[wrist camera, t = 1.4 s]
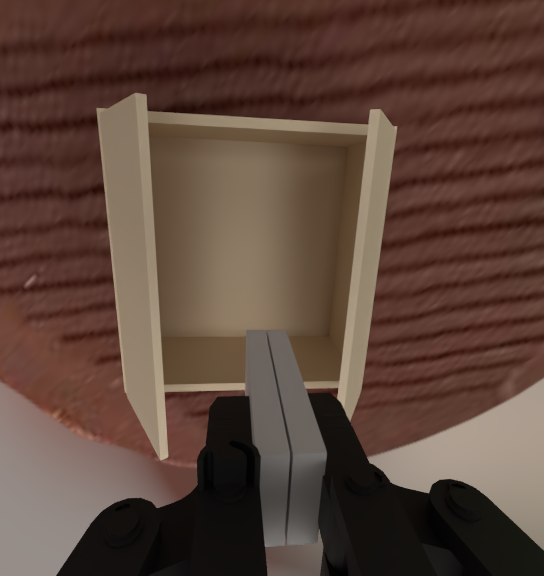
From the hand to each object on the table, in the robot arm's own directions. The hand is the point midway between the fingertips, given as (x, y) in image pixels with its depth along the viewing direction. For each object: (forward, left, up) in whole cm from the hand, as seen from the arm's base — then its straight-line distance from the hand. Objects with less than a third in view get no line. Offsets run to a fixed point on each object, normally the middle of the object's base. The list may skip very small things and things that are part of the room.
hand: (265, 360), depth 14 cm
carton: (0, 0, -24) cm, 24 cm away
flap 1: (0, -10, -14) cm, 17 cm away
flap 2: (0, +10, -14) cm, 17 cm away
